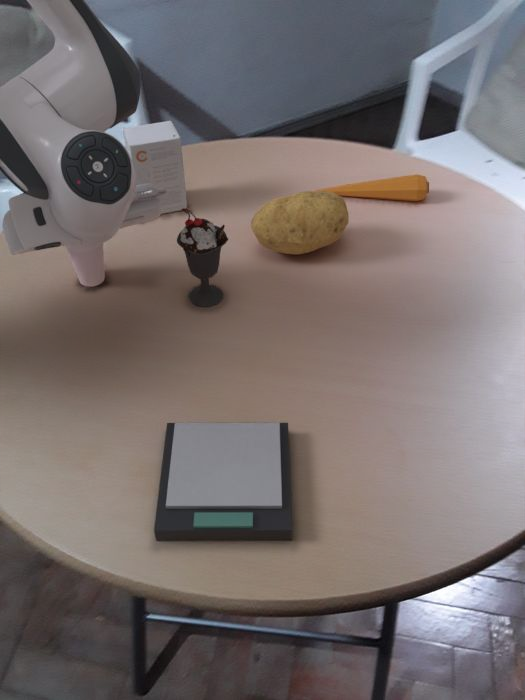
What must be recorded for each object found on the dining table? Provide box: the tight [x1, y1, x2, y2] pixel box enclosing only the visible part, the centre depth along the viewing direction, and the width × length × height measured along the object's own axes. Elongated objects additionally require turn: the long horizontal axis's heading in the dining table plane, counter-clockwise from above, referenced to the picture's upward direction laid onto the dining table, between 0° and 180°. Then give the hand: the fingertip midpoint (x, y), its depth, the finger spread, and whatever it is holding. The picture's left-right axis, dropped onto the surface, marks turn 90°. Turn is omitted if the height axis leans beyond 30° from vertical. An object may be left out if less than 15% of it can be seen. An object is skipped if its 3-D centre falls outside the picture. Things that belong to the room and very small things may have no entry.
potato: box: [250, 190, 349, 256], centre depth 103 cm, size 10×14×10 cm
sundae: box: [176, 207, 229, 308], centre depth 92 cm, size 7×7×15 cm
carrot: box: [315, 173, 430, 202], centre depth 116 cm, size 20×4×4 cm, turn 85°
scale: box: [153, 422, 293, 542], centre depth 74 cm, size 14×14×3 cm
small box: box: [122, 120, 188, 215], centre depth 110 cm, size 8×6×13 cm
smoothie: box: [64, 243, 106, 288], centre depth 96 cm, size 6×6×14 cm
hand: (82, 232), depth 95 cm, fingers open, 8 cm apart
